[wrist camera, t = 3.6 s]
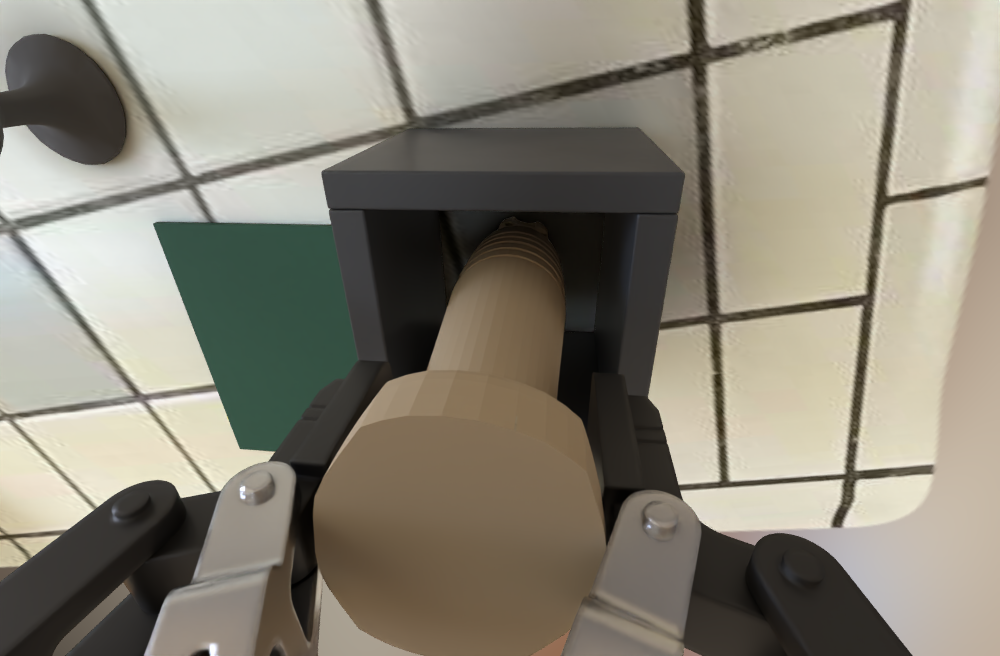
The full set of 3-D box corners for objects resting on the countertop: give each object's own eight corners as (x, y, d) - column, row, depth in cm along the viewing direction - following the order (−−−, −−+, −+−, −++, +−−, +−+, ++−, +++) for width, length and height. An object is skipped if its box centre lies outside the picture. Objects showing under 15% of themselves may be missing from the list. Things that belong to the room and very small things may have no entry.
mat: (157, 221, 22) (152, 223, 22) (407, 226, 21) (405, 228, 21) (242, 445, 29) (239, 449, 29) (434, 459, 28) (433, 463, 28)
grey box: (407, 128, 19) (319, 171, 12) (639, 127, 18) (686, 172, 11) (430, 342, 24) (377, 459, 17) (613, 351, 23) (634, 478, 16)
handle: (592, 187, 19) (654, 455, 6) (558, 323, 23) (553, 683, 10) (475, 165, 19) (304, 386, 7) (458, 303, 23) (320, 635, 10)
